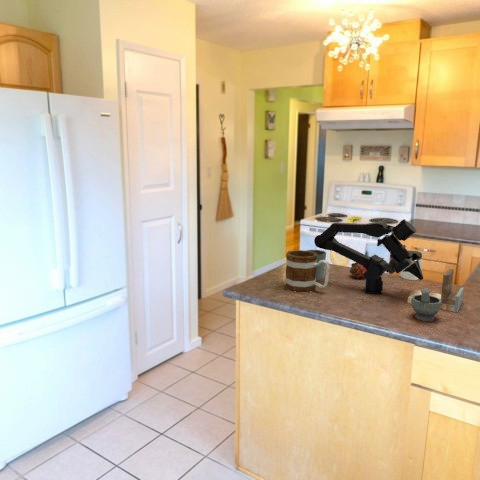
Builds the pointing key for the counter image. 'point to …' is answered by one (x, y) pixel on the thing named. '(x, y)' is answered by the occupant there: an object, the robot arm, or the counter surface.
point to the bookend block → (448, 288)
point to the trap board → (443, 306)
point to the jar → (407, 274)
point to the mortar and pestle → (425, 305)
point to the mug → (303, 271)
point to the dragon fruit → (357, 270)
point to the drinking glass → (320, 268)
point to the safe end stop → (459, 299)
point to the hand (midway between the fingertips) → (422, 279)
